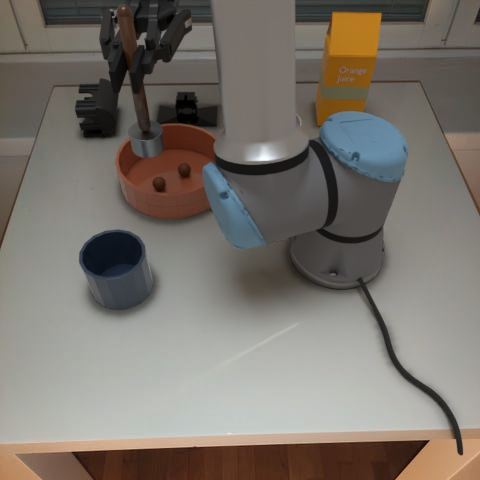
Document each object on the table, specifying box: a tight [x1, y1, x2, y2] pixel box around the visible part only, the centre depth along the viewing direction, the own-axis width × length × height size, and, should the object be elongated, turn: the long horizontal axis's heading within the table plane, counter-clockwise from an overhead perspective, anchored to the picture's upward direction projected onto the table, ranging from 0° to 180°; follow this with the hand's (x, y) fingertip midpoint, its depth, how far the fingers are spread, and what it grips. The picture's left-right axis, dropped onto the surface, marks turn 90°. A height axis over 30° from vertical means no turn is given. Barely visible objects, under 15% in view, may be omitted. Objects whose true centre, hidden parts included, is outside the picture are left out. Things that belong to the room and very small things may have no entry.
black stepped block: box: [156, 91, 219, 128], centre depth 97 cm, size 12×7×5 cm, turn 90°
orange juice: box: [314, 11, 383, 127], centre depth 91 cm, size 8×9×20 cm
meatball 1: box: [152, 177, 166, 191], centre depth 85 cm, size 2×2×2 cm
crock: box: [78, 228, 154, 311], centre depth 71 cm, size 9×9×8 cm
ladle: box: [116, 4, 165, 158], centre depth 64 cm, size 5×5×20 cm
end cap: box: [74, 77, 120, 138], centre depth 95 cm, size 10×7×7 cm
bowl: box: [114, 124, 218, 220], centre depth 85 cm, size 19×19×6 cm
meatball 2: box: [178, 163, 191, 177], centre depth 87 cm, size 2×2×2 cm
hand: (124, 82), depth 58 cm, fingers closed on ladle, 2 cm apart
